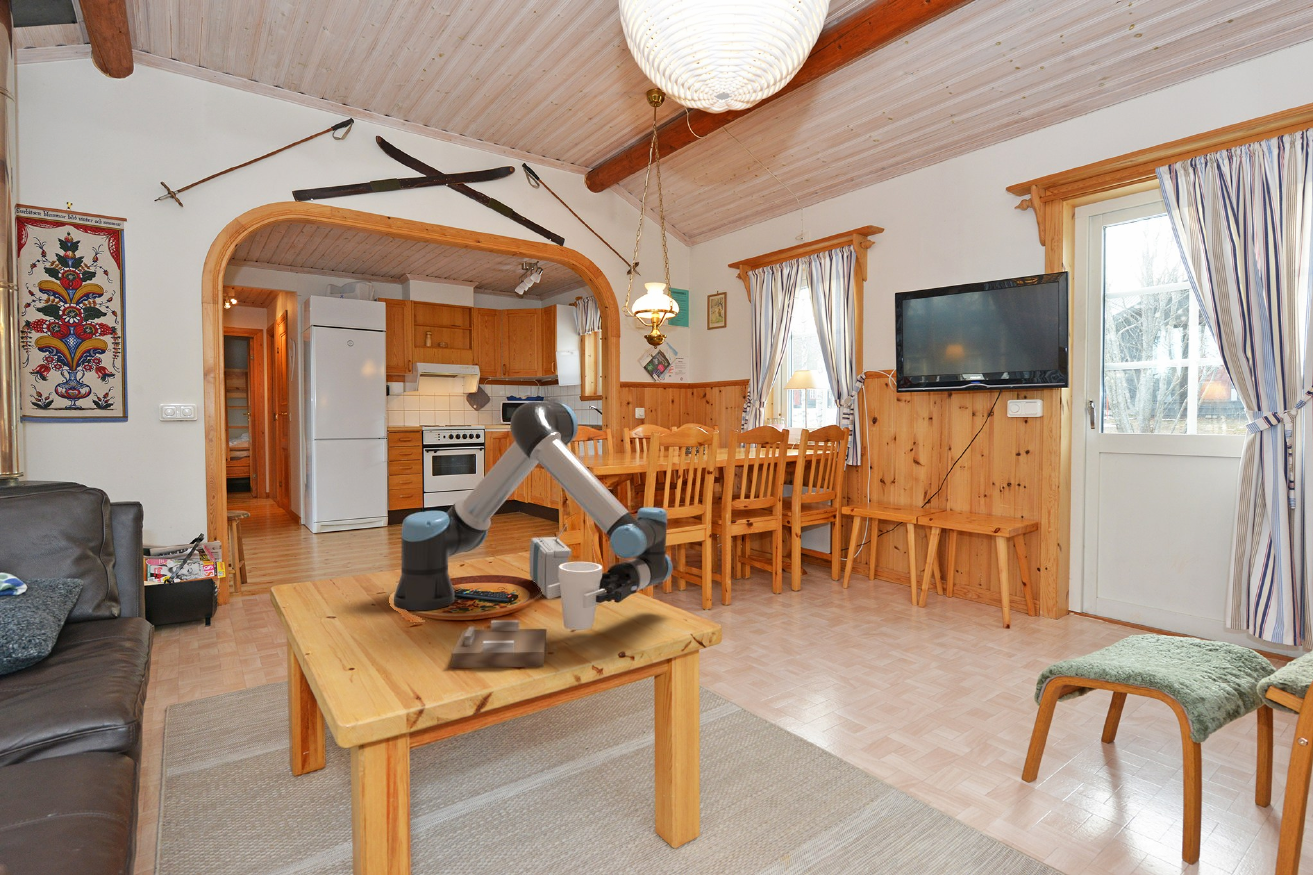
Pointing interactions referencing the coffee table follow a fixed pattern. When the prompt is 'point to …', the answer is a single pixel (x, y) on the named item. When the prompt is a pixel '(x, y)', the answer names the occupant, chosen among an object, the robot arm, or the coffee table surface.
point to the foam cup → (578, 592)
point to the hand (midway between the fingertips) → (566, 597)
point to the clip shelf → (500, 647)
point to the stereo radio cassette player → (547, 560)
